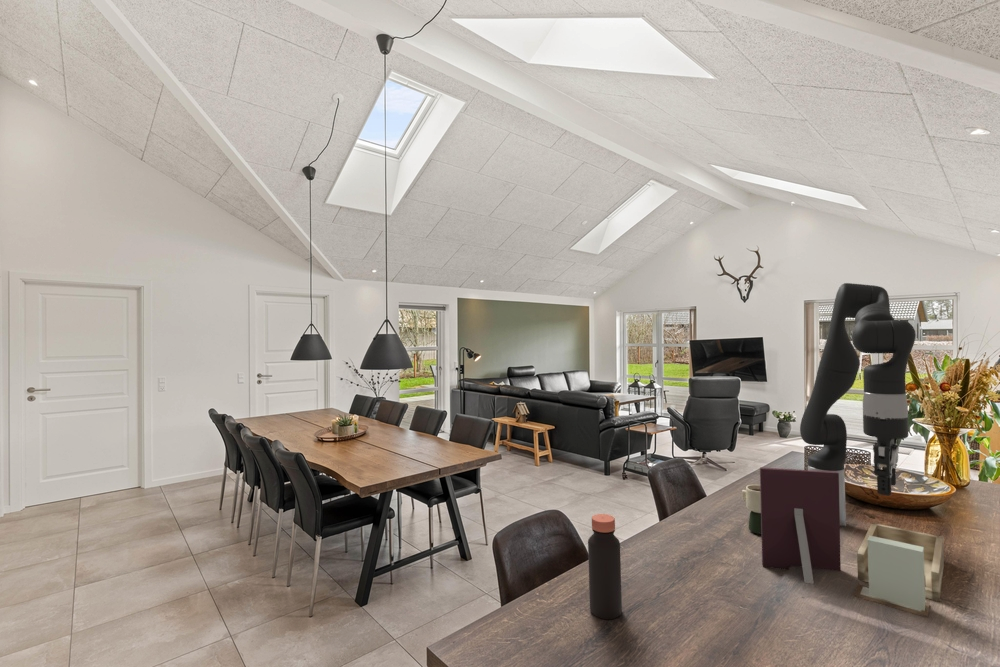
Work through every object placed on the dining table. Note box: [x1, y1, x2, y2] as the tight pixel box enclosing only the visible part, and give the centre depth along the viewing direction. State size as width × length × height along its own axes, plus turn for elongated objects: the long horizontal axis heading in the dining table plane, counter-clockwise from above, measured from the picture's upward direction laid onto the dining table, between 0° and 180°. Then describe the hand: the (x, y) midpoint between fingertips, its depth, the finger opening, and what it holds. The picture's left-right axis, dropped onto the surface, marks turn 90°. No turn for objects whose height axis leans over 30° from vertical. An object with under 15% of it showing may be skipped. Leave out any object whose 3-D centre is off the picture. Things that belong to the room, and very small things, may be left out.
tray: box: [856, 522, 945, 602], centre depth 115 cm, size 14×24×7 cm, turn 135°
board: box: [853, 583, 930, 618], centre depth 102 cm, size 12×6×2 cm, turn 45°
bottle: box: [587, 513, 623, 620], centre depth 103 cm, size 7×7×20 cm
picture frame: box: [759, 467, 842, 585], centre depth 114 cm, size 17×10×25 cm, turn 71°
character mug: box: [741, 484, 761, 535], centre depth 141 cm, size 11×7×13 cm, turn 30°
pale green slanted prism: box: [867, 535, 926, 611], centre depth 101 cm, size 9×3×12 cm, turn 46°
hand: (886, 489), depth 102 cm, fingers open, 8 cm apart
